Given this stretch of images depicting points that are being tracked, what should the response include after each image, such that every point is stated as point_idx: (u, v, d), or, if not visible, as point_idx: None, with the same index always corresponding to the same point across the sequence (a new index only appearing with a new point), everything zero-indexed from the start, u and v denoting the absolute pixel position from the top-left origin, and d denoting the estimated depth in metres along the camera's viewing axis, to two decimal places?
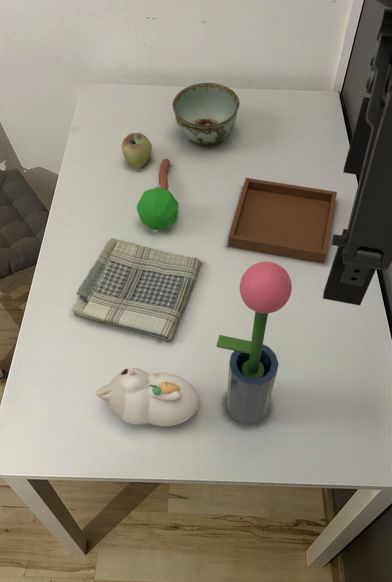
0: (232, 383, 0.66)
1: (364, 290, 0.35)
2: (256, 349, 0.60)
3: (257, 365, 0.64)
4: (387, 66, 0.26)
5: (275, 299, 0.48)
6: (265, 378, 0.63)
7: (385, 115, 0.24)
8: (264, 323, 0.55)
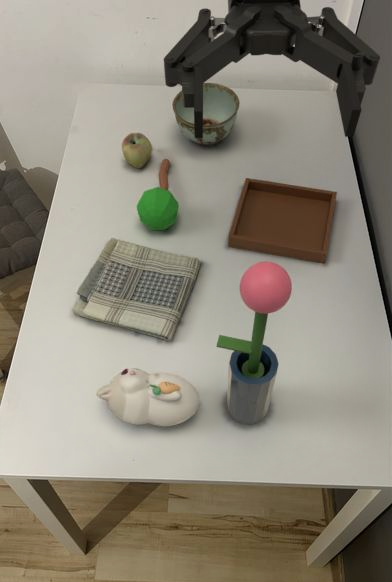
0: (232, 383, 0.66)
1: (194, 99, 0.44)
2: (256, 349, 0.60)
3: (257, 365, 0.64)
4: None
5: (275, 299, 0.48)
6: (265, 378, 0.63)
7: None
8: (264, 323, 0.55)
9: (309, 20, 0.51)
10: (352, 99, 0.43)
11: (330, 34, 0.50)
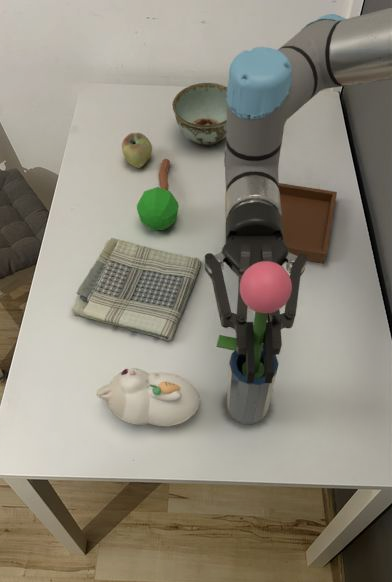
0: (232, 383, 0.66)
1: (247, 358, 0.55)
2: (256, 348, 0.60)
3: (257, 365, 0.64)
4: None
5: (275, 299, 0.48)
6: None
7: (210, 276, 0.64)
8: (264, 323, 0.55)
9: (288, 256, 0.63)
10: (268, 361, 0.55)
11: None
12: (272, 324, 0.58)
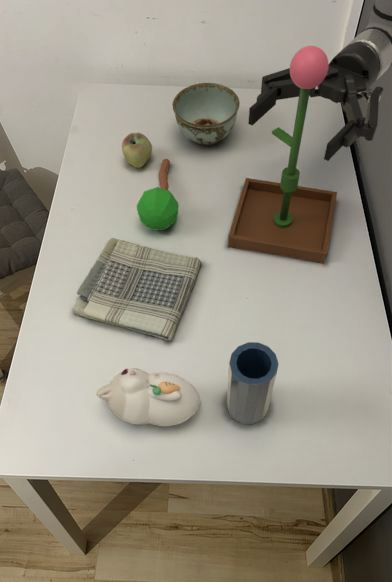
0: (232, 383, 0.66)
1: (256, 102, 0.76)
2: (294, 141, 0.78)
3: (293, 165, 0.82)
4: None
5: (306, 69, 0.66)
6: (265, 378, 0.63)
7: None
8: (302, 109, 0.73)
9: (366, 90, 0.78)
10: (333, 138, 0.72)
11: (369, 103, 0.77)
12: (357, 127, 0.74)
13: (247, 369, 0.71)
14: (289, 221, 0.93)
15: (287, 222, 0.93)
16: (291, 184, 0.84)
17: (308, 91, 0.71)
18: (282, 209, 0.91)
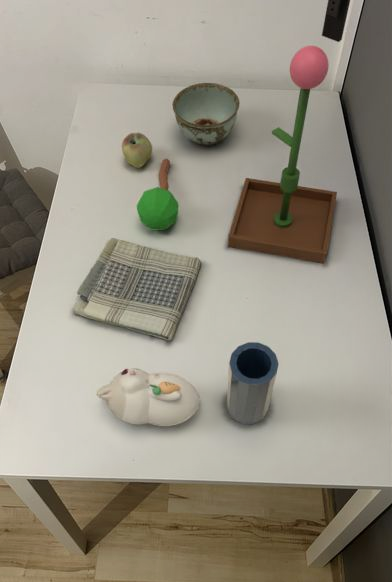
0: (232, 383, 0.66)
1: (340, 27, 0.67)
2: (294, 141, 0.78)
3: (293, 165, 0.82)
4: None
5: (306, 69, 0.66)
6: (265, 378, 0.63)
7: None
8: (302, 109, 0.73)
9: None
10: None
11: None
12: None
13: (247, 369, 0.71)
14: (289, 221, 0.93)
15: (287, 222, 0.93)
16: (291, 184, 0.84)
17: (308, 91, 0.71)
18: (282, 209, 0.91)
